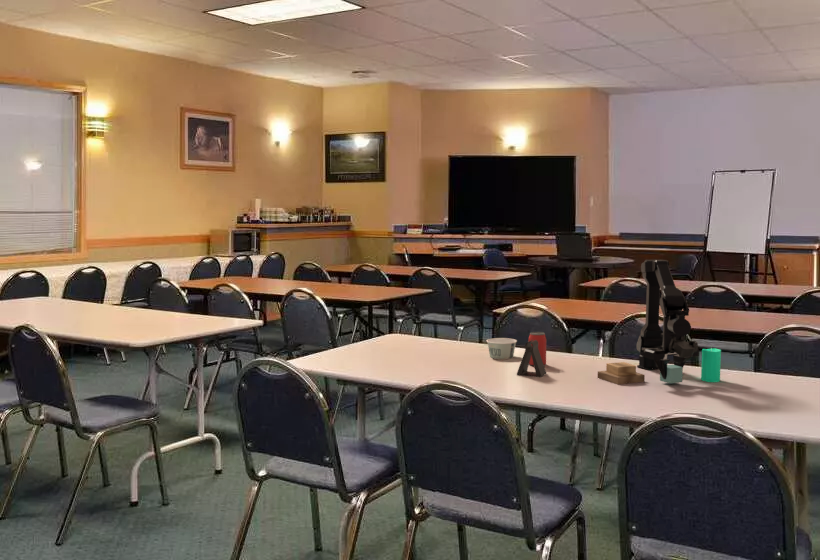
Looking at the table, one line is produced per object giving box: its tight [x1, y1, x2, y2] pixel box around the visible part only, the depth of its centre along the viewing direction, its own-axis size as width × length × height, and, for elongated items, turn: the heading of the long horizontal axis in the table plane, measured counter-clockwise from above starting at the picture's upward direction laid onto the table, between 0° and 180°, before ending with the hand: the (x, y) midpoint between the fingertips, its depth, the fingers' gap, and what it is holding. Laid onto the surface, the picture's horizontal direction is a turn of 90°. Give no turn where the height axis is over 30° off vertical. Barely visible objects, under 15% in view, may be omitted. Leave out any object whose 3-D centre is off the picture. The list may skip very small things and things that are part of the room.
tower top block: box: [605, 361, 637, 376], centre depth 267 cm, size 7×7×3 cm
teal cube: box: [659, 364, 684, 384], centre depth 260 cm, size 5×5×5 cm
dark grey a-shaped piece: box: [516, 340, 547, 378], centre depth 277 cm, size 9×6×12 cm, turn 63°
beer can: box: [527, 331, 547, 367], centre depth 294 cm, size 7×7×12 cm
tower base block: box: [597, 370, 646, 386], centre depth 268 cm, size 11×11×3 cm
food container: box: [485, 337, 518, 360], centre depth 311 cm, size 12×12×6 cm
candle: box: [700, 344, 722, 383], centre depth 265 cm, size 6×6×12 cm
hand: (671, 378), depth 261 cm, fingers closed on teal cube, 5 cm apart
